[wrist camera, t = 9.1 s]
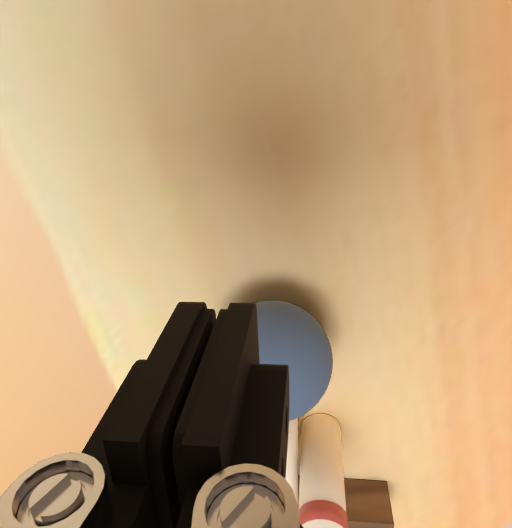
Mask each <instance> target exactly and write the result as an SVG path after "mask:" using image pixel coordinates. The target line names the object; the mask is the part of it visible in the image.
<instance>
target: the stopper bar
mask: <svg viewBox="0 0 512 528" xmlns="http://www.w3.org/2000/svg"><path fill="white" fill-rule="evenodd" d="M299 484H300V476H298V499H299ZM344 487H345V501H346V513H347V516H348V528H394V521H393V515H392V509H391V504H390V498H389V492H388V486H387V481H373V480H358V479H344Z"/></svg>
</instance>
